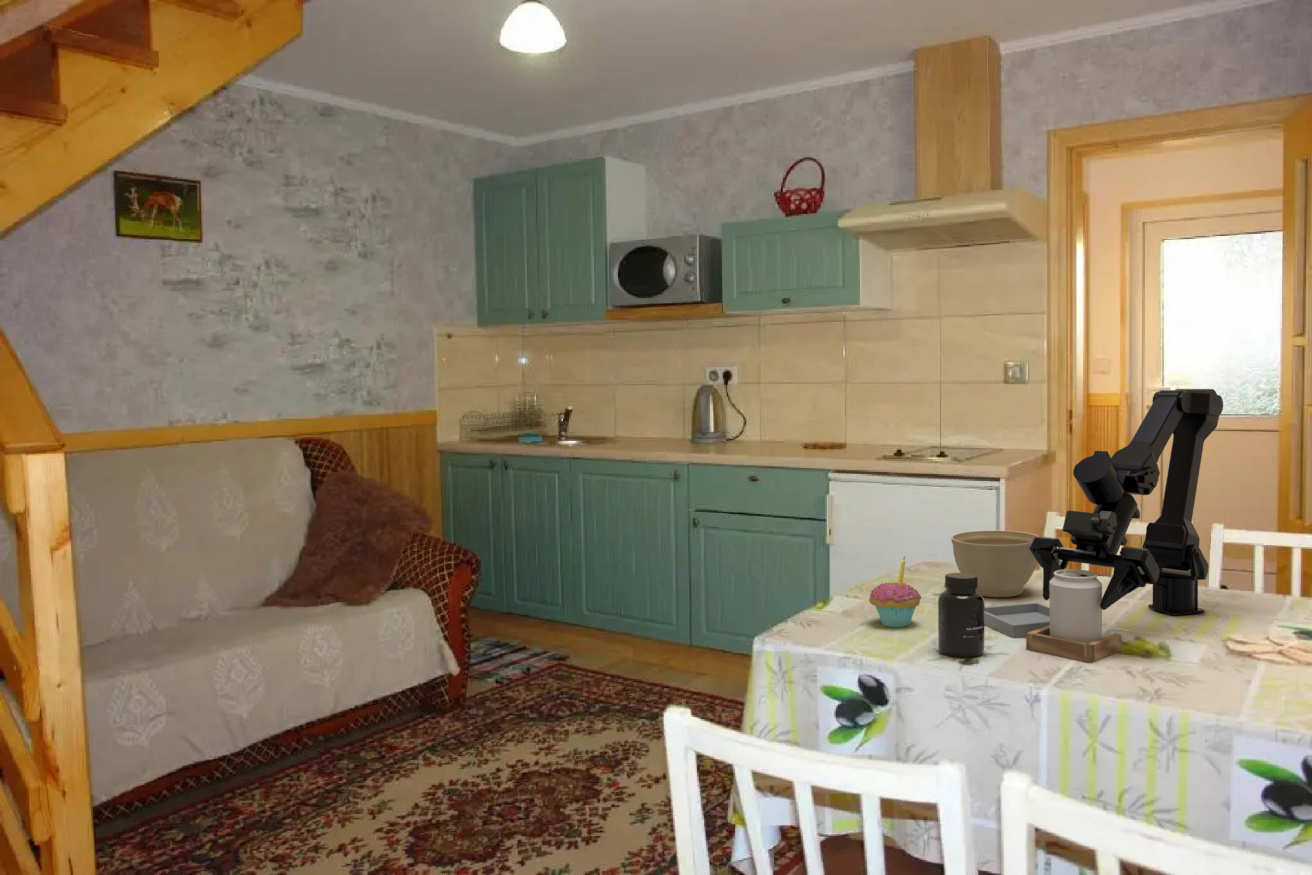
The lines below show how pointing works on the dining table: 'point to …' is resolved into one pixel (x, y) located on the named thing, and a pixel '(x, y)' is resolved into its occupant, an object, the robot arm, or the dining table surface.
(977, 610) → the supplement bottle
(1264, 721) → the dining table surface
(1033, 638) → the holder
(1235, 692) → the dining table surface
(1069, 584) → the can
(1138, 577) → the robot arm
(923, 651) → the dining table surface
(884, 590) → the cupcake
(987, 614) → the tray
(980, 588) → the planter bowl
